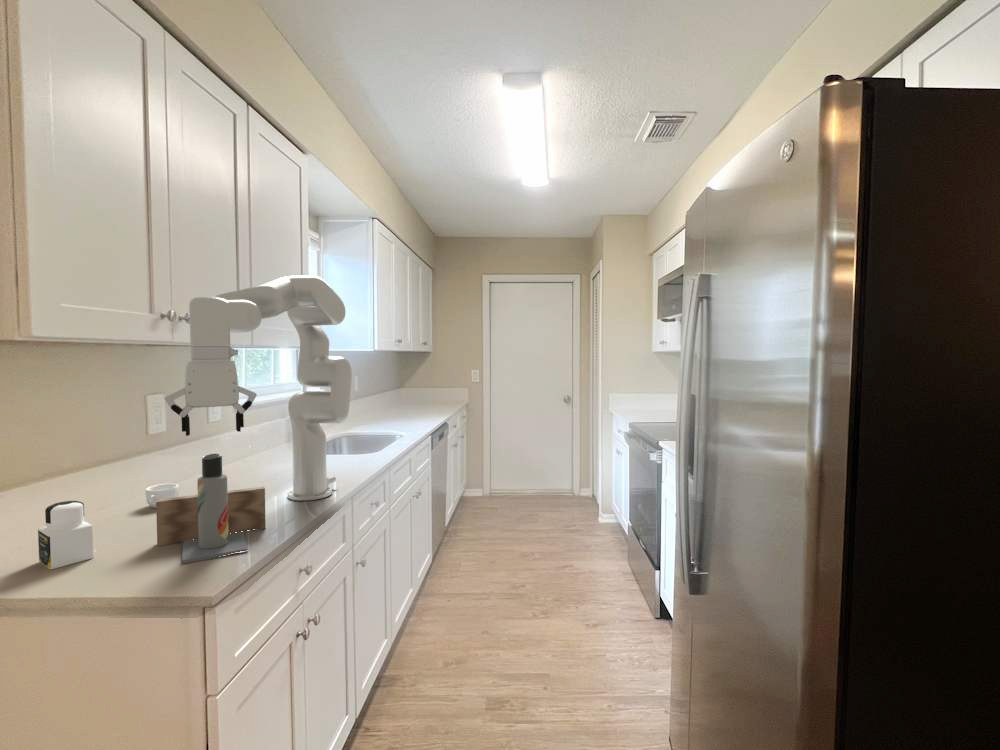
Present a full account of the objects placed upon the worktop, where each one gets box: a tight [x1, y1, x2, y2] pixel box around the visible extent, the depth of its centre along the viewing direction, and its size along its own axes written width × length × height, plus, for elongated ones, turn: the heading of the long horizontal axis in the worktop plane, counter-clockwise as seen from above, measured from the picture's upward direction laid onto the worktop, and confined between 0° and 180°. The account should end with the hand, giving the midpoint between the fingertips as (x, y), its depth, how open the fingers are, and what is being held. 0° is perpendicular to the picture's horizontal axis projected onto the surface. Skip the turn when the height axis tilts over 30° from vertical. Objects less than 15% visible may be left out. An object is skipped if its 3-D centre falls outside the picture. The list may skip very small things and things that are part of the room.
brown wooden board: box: [155, 486, 266, 547], centre depth 117 cm, size 22×2×10 cm, turn 121°
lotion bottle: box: [196, 453, 229, 549], centre depth 110 cm, size 6×6×20 cm
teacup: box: [145, 483, 180, 509], centre depth 139 cm, size 10×8×5 cm
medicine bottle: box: [37, 500, 95, 571], centre depth 103 cm, size 7×7×12 cm
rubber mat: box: [181, 532, 249, 565], centre depth 110 cm, size 12×12×1 cm
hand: (213, 432), depth 109 cm, fingers open, 9 cm apart
